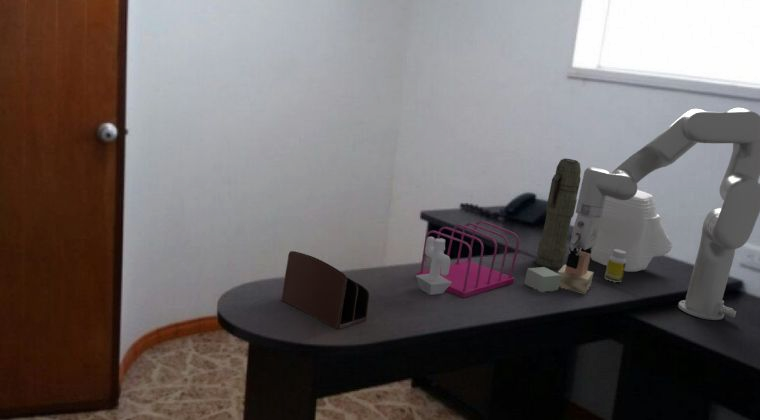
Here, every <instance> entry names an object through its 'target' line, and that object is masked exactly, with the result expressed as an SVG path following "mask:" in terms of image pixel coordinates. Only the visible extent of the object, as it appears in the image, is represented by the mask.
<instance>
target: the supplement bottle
mask: <svg viewBox="0 0 760 420" xmlns="http://www.w3.org/2000/svg"><path fill="white" fill-rule="evenodd" d="M612 254H613V255H612V256H610V257H609V260H608V264H607V266H606V269H605V273H604V280H606V281H608V280H609V282H611V281H613V282H612V283H616V282H620V283H622V281H623V278H624V277H623V276H624V273H625V271H624V269H625V265H626V259H625V258H624V257H625V256H626V252H625V251H623V250H619V249H614V250H613V253H612Z"/></svg>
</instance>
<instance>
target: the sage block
mask: <svg viewBox="0 0 760 420" xmlns="http://www.w3.org/2000/svg"><path fill="white" fill-rule="evenodd" d="M524 279H525V280H524V285H526V286H527V287H530V288H532V287H533V288H534V289H533V288H532V289H533V290H535V289H537V290H538V291H537V290H536V291H537V292H539V291H540V292H539V293H546V292H545V291H550V292H554V291H553V290H559V289H560V288H559V283H560V279H561V275H560V274H558V272H556V271H553V270H551V268H547V267H543V266H541V267H527V269H526V274H525V278H524Z"/></svg>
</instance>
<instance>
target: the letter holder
mask: <svg viewBox="0 0 760 420" xmlns="http://www.w3.org/2000/svg"><path fill="white" fill-rule="evenodd" d="M286 262H287V263H286V268H285V273H284V282H283V287H282V293H281V294H282V295H281V301H282V302H284V303H286V304H288V305H290V306H292V307H294V308H295V309H298V310H300V311H302V312H303V313H305V314H307V315H309V316H310V317H313V318H315V319H317V320H319V321H320V322H322V323H324V324H327V325H329V326H330V327H332V326H333V327H332V328H334V329H336V328H337V329H336V330H340V328H342V327H345V328H347V327H346V326H348V327H350V326H349V325H351V326H353V325H352V324H354V325H357V324H360V322H361V323H363V321H364V322H366V321H367V316H368V310H369V300H370V292H369V290H368V289H367V288H365V286H363V285H361V284H360V283H358V282H357V281H355V280H353V279H351V278H349V277H348V276H346V275H345V273H343V272H342V271H340V270H339V269H337V268H335V267H334V266H332V264H331V265H330V264H329V263H327V262H325V261H324V260H322V259H319V258H317V257H315V256H312V255H309V254H306V253H302V252H298V251H296V250H295V251H294V250H290V251H289V253H288V256H287V261H286ZM356 323H357V324H356ZM342 329H343V328H342Z"/></svg>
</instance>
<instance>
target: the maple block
mask: <svg viewBox="0 0 760 420" xmlns="http://www.w3.org/2000/svg"><path fill="white" fill-rule="evenodd" d="M565 269H566V264H563V265H562V268H560V269H558V272H557V273H558V274H560V275H561V279H560V283H559V287H561V288H560V289H563V288H565V289H564V290H566V289H570V290H574V291H578V292H582V293H586V294H587V292H588V291H589V290H590V288H591V285H592V282H593V277H594V276H593V275H594V273H595V272H594V271H590V270H587V273H585V274H584V275H582V276H579V275H576V274H573V273H570V272H567V271H565ZM589 287H590V288H589ZM570 290H569V291H570ZM587 290H588V291H587ZM574 291H573V292H574ZM586 291H587V292H586Z"/></svg>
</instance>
